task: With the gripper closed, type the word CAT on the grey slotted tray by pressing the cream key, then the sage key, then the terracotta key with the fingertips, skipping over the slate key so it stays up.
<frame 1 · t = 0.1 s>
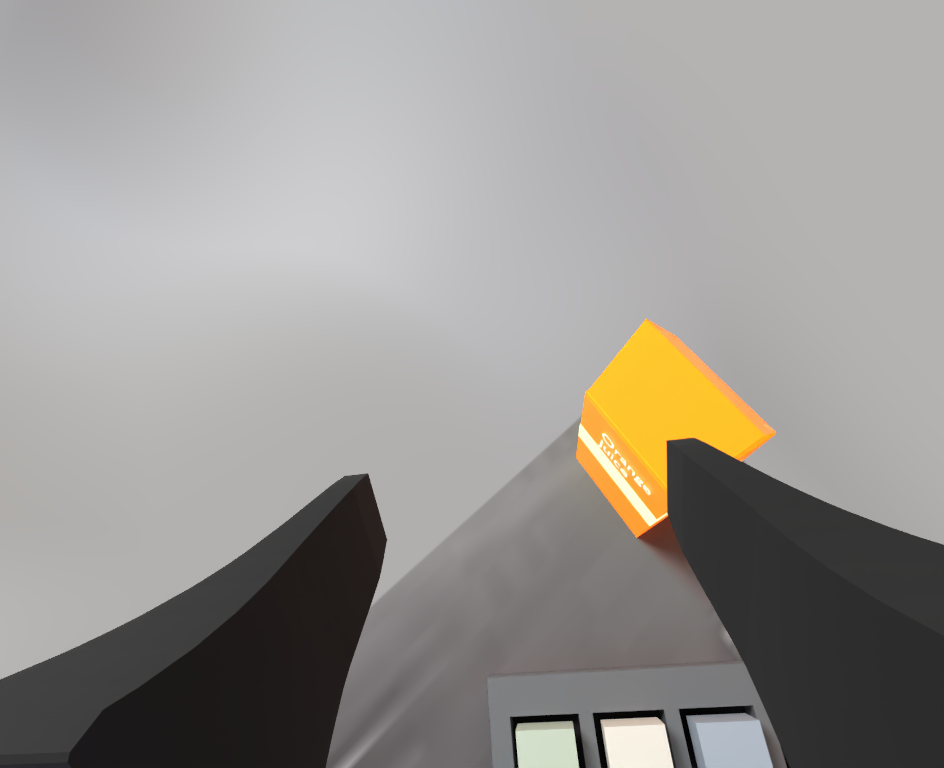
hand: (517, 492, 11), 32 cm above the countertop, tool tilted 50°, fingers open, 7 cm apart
slate key: (730, 754, 30), point 3 cm above the countertop, slide at 0.0 cm
sage key: (548, 761, 31), point 3 cm above the countertop, slide at 0.0 cm
orange juice: (637, 473, 42), on the countertop
grey slotted tray: (674, 746, 33), on the countertop
cream key: (637, 758, 31), point 3 cm above the countertop, slide at 0.0 cm
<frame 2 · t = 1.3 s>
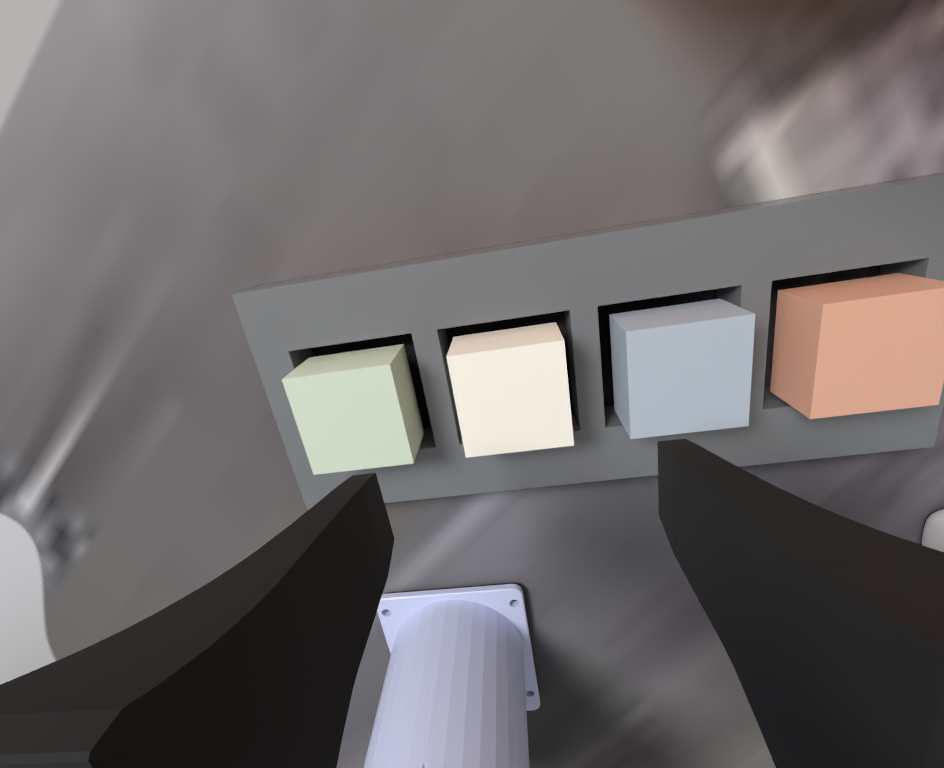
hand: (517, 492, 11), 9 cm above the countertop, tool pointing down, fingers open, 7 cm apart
slate key: (676, 367, 17), point 3 cm above the countertop, slide at 0.0 cm
sage key: (359, 408, 18), point 3 cm above the countertop, slide at 0.0 cm
terracotta key: (854, 345, 16), point 3 cm above the countertop, slide at 0.0 cm
grey slotted tray: (580, 355, 19), on the countertop
cream key: (511, 389, 17), point 3 cm above the countertop, slide at 0.0 cm
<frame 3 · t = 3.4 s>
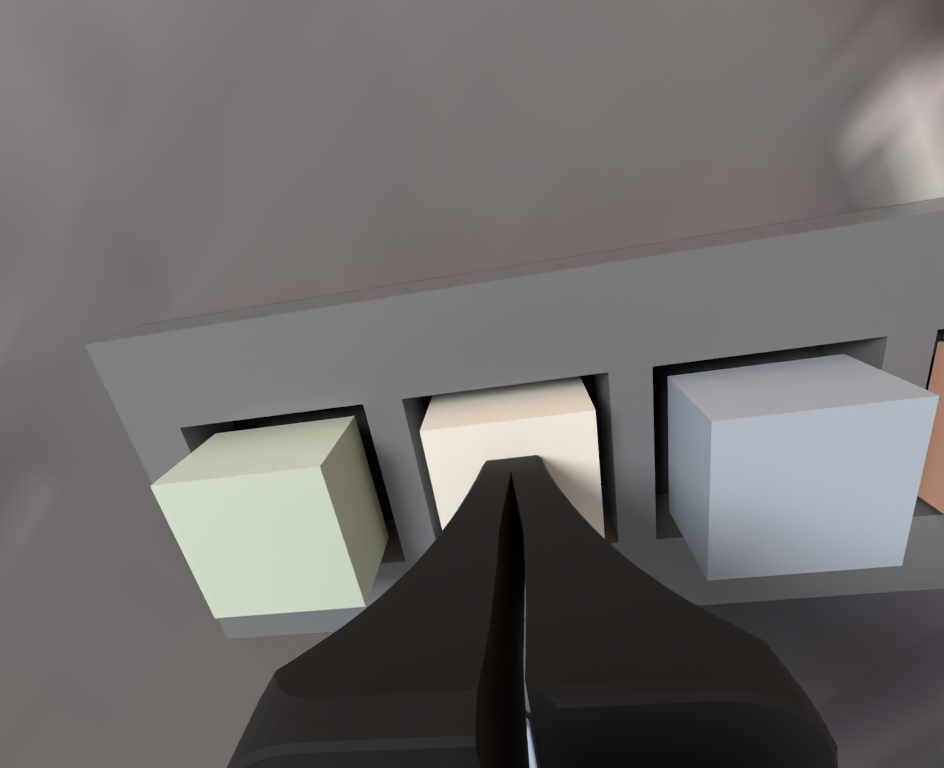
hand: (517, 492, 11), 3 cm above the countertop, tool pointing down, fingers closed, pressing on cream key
slate key: (777, 464, 10), point 3 cm above the countertop, slide at 0.0 cm
sage key: (286, 515, 12), point 3 cm above the countertop, slide at 0.0 cm
grey slotted tray: (615, 426, 13), on the countertop
cream key: (515, 467, 12), point 2 cm above the countertop, slide at 1.1 cm, touching gripper
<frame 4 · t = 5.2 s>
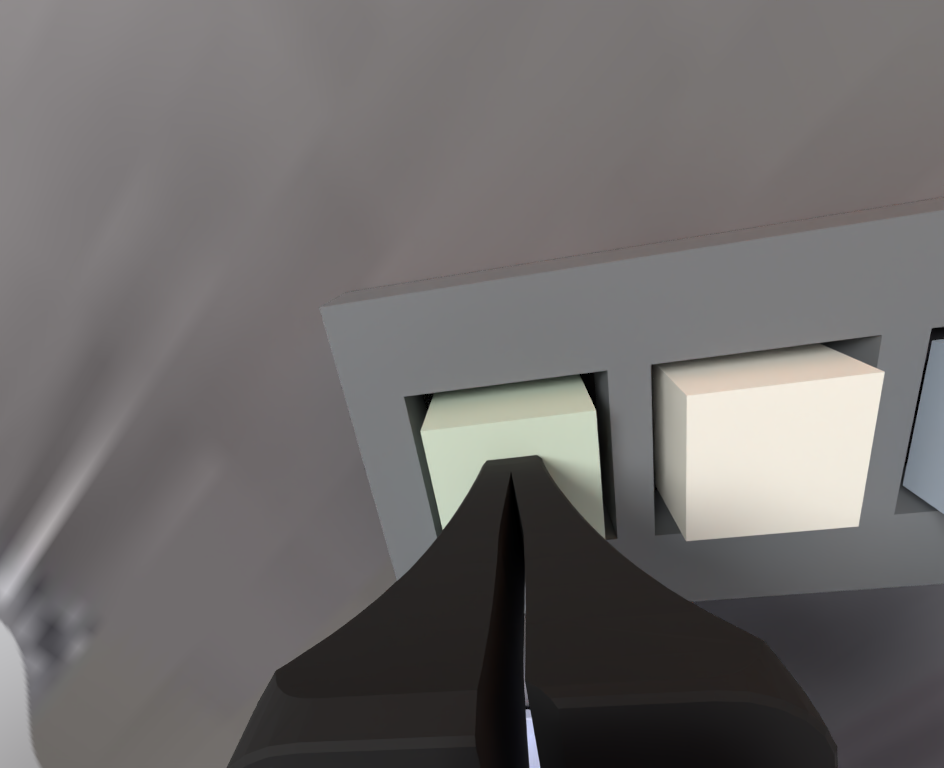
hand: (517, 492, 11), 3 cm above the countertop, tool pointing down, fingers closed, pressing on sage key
sage key: (515, 467, 12), point 2 cm above the countertop, slide at 1.0 cm, touching gripper
grey slotted tray: (832, 398, 13), on the countertop
cream key: (749, 438, 12), point 2 cm above the countertop, slide at 1.1 cm
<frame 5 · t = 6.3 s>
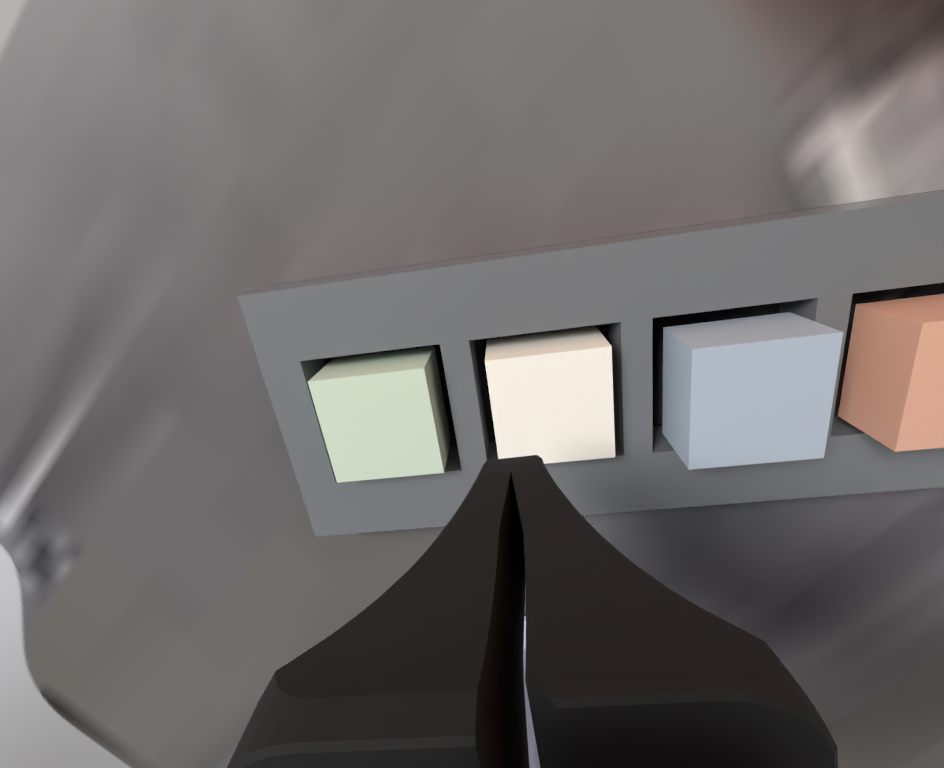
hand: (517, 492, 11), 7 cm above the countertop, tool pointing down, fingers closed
slate key: (739, 389, 15), point 3 cm above the countertop, slide at 0.0 cm
sage key: (386, 413, 17), point 2 cm above the countertop, slide at 1.1 cm
grey slotted tray: (622, 371, 17), on the countertop
cream key: (548, 396, 16), point 2 cm above the countertop, slide at 1.1 cm
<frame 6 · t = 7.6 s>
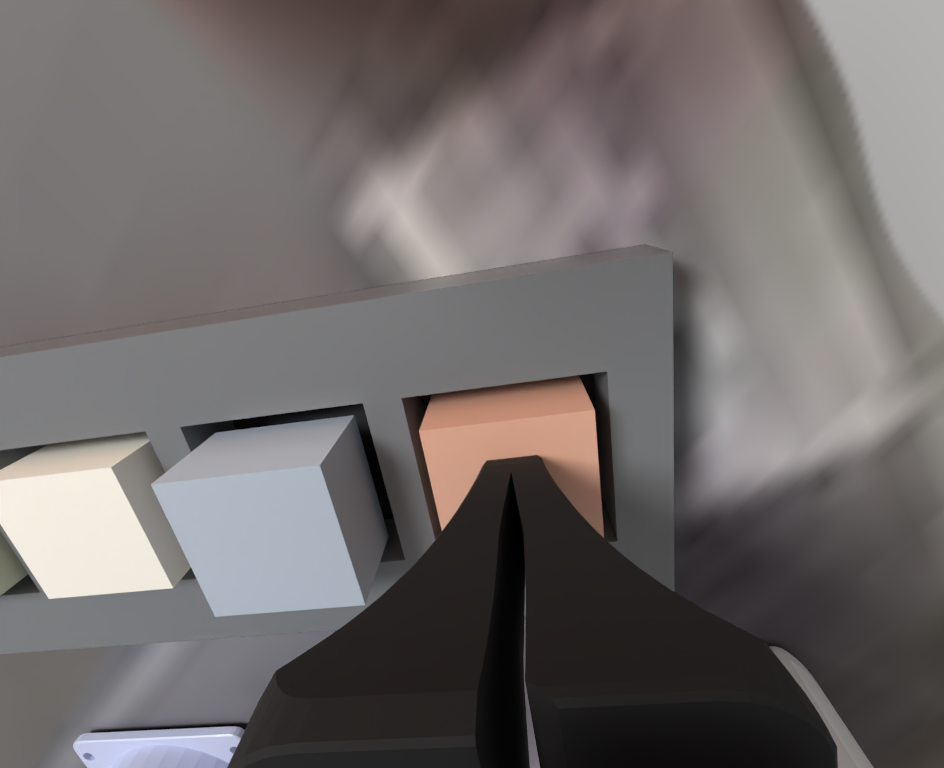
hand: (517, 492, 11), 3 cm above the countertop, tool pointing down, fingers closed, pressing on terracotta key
slate key: (286, 513, 12), point 3 cm above the countertop, slide at 0.0 cm
terracotta key: (514, 466, 12), point 2 cm above the countertop, slide at 1.1 cm, touching gripper
eye dropper bottle: (763, 688, 17), on the countertop
grey slotted tray: (236, 469, 15), on the countertop
cream key: (113, 509, 14), point 2 cm above the countertop, slide at 1.1 cm
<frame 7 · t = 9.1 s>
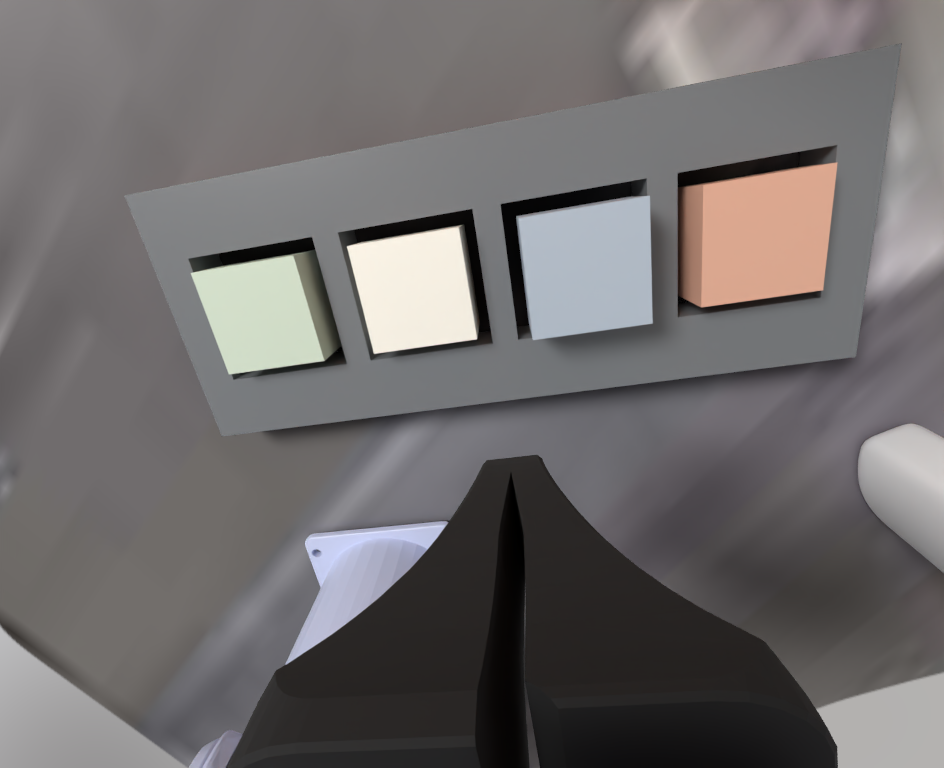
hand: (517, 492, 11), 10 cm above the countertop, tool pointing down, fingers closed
slate key: (581, 267, 16), point 3 cm above the countertop, slide at 0.0 cm
sage key: (274, 310, 18), point 2 cm above the countertop, slide at 1.1 cm
terracotta key: (746, 236, 16), point 2 cm above the countertop, slide at 1.1 cm
eye dropper bottle: (893, 471, 21), on the countertop
grey slotted tray: (496, 270, 19), on the countertop
cream key: (419, 288, 18), point 2 cm above the countertop, slide at 1.1 cm
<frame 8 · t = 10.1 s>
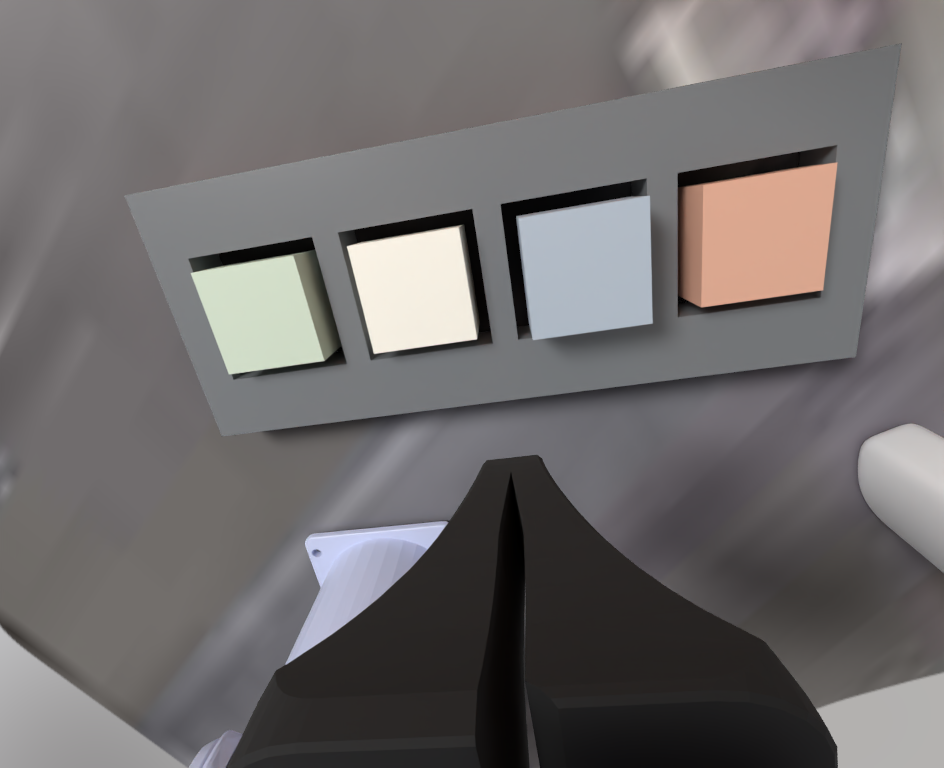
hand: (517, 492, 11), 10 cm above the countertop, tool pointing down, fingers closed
slate key: (581, 267, 16), point 3 cm above the countertop, slide at 0.0 cm
sage key: (274, 310, 18), point 2 cm above the countertop, slide at 1.1 cm
terracotta key: (746, 236, 16), point 2 cm above the countertop, slide at 1.1 cm
eye dropper bottle: (893, 471, 21), on the countertop
grey slotted tray: (496, 270, 19), on the countertop
cream key: (419, 288, 18), point 2 cm above the countertop, slide at 1.1 cm
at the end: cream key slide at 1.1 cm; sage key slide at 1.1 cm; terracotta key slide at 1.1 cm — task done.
